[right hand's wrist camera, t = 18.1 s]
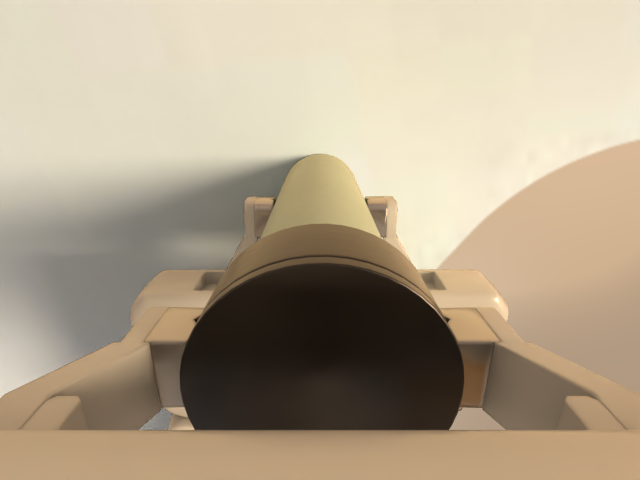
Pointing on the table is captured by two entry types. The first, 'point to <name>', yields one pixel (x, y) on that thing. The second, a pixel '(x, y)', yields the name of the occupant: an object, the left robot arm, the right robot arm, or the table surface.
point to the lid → (321, 340)
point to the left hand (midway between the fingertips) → (319, 198)
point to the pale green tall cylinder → (320, 197)
